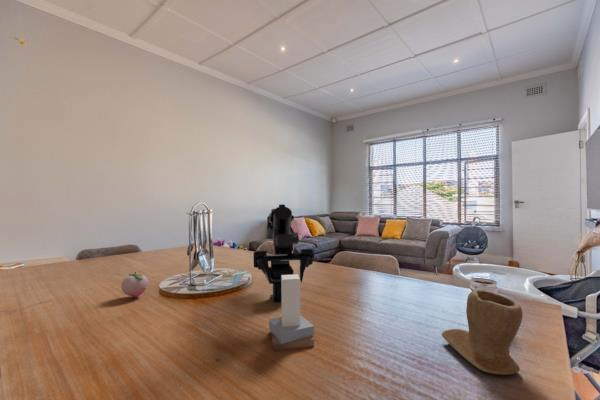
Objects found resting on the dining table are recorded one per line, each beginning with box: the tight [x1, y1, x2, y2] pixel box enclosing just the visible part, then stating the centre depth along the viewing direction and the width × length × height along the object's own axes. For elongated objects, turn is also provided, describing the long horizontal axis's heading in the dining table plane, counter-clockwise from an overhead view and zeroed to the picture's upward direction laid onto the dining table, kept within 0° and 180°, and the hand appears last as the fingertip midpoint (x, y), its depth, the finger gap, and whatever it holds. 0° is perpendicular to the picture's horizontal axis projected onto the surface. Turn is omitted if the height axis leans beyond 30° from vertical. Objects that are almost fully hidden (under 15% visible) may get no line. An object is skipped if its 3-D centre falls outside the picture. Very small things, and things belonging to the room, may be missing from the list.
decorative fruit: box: [121, 271, 149, 298], centre depth 106 cm, size 9×8×10 cm
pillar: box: [281, 273, 301, 327], centre depth 73 cm, size 5×5×12 cm
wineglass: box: [469, 277, 499, 294], centre depth 80 cm, size 7×7×12 cm
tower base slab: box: [270, 331, 315, 351], centre depth 72 cm, size 10×10×2 cm
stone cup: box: [441, 290, 523, 376], centre depth 62 cm, size 15×12×15 cm
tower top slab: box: [268, 314, 315, 344], centre depth 72 cm, size 9×9×2 cm
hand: (286, 282), depth 80 cm, fingers open, 9 cm apart
